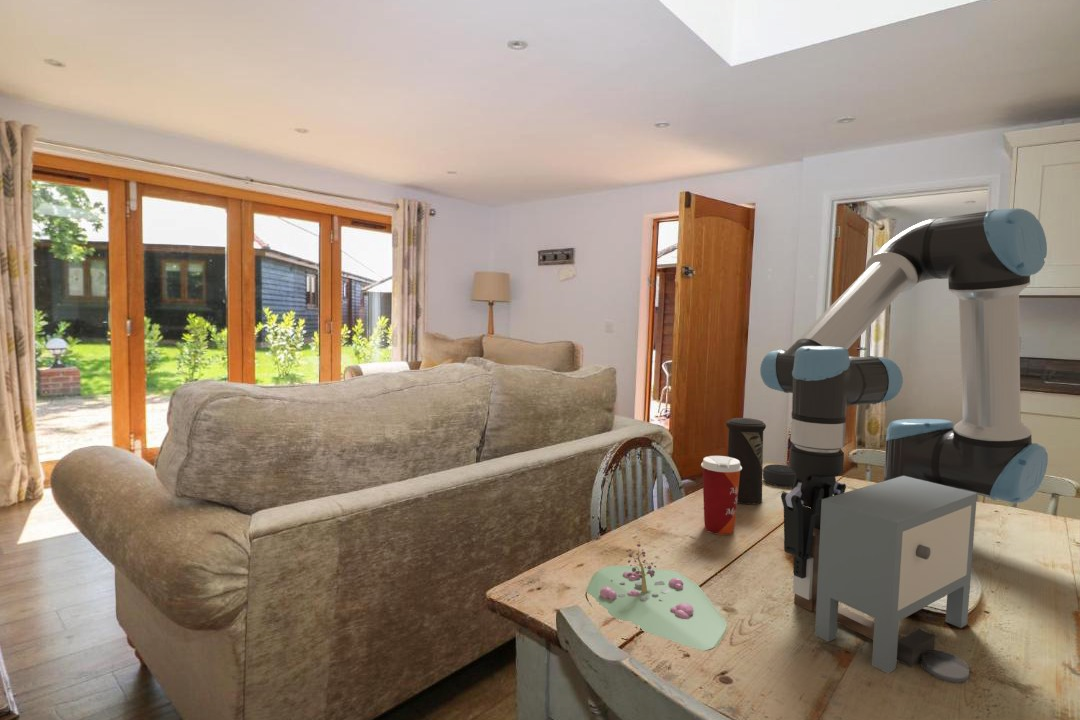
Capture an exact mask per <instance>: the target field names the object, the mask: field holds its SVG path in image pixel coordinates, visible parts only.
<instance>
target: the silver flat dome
mask: <svg viewBox="0 0 1080 720" xmlns="http://www.w3.org/2000/svg"><path fill="white" fill-rule="evenodd" d="M920 665H921V668H922V669H923V670H924V671H925V672H926V673H927V674H929V675H930V676H932V677H934V678H936V679H938V680H941V681H943V682H947V683H951V684H965V683H967V682H968V681H969V679H970V666H969V665H968V663H967V662H965V661H964V660H963V659H961V658H960V657H958V656H956V655H954V654H952V653H949V652H946V651H943V650H937V649H934V650H927V651H924V652H923V653H922V660H921V662H920Z"/></svg>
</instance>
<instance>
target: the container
mask: <svg viewBox="0 0 1080 720" xmlns="http://www.w3.org/2000/svg"><path fill="white" fill-rule="evenodd" d="M725 425H726V427H727V428H728V446H727V457H731V458H735V459H737V460H739V461H740V466H741V467H742V470H740V478H739V489H738V499H737V504H744V505H757V504H760V503H762V502H763V469H764V466H763V462H764V461H763V459H764V452H763V451H764V431H765V429H766V427H767V425H766V423H765V422H764V421H763V420H760V419H756V418H748V417H734V418H730V419H729V420H727V421H726V424H725Z"/></svg>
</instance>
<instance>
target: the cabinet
mask: <svg viewBox="0 0 1080 720" xmlns="http://www.w3.org/2000/svg"><path fill="white" fill-rule="evenodd" d="M977 498H978V495H977V493H974V492H970V491H966V490H962V489H957V488H953V487H949V486H945V485H941V484H936V483H932V482H928V481H924V480H920V479H915V478H911V477H907V476H900V477H897V478H894V479H890V480H887V481H884V480H883V481H880V482H877V483H873V484H869V485H865V486H863V487H859V488H856V489H853V490H850V491H845V492H844V493H842V494H838V495H835V496H834V495H833V496H832V497H828V498H825V499H822V502H821V523H820V543H819V563H818V583H817V603H816V611H815V624H814V625H815V627H814V636H815V637H817V638H820V639H822V640H823V641H825V642H827V643H829V642H831V641H833V640H835V639H837V634H838V622H837V620H838V606H839V603H841V604H843V605H845V606H848V607H850V608H852V609H853V610H855V611H858V612H861V613H863V614H865V615H867V616H869V617H871V618H873V619H874V621H873V622H874V638H873V639H872V641H873V642H872V657H871V658H872V659H871V666H872V667H874V668H877V669H878V670H880V671H882V672H884V673H886V674H889V673H891V672H893V671H895V670H896V669H897V661H898V660H897V645H898V634H899V630H900V629H899V625H900V621H903V620H904V619H906V618H908V617H909V616H911V615H913V614H915V613H917V612H919V611H920V610H922V609H923V608H926V607H927V606H930V605H931V604H933V603H935V602H937V601H939V600H940V599H942V598H944V597H946V606H945V607H946V609H945V620H944V621H945V623H948V624H950V625H952V626H954V627H957V628H959V629H962V628H963V627H965V626H968V617H969V606H970V605H969V603H970V592H971V591H970V590H971V578H972V577H971V576H972V566H973V564H972V563H973V554H974V553H973V551H974V538H975V525H976V524H975V523H976V513H977V512H976V511H977Z"/></svg>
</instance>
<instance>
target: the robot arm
mask: <svg viewBox="0 0 1080 720" xmlns="http://www.w3.org/2000/svg"><path fill="white" fill-rule="evenodd" d="M1047 254H1048V242H1047V237H1046V234H1045V230H1044V228H1043V226H1042V223H1041V222H1040V221H1039V219H1038V218H1037V217H1036V216H1035V214H1033V213H1032V212H1031V211H1029V210H1027V209H1024V208H1018V207H1017V208H1016V207H1015V208H1003V209H1001V208H1000V209H995V208H994V209H991V210H987V211H979V212H972V213H971V212H970V213H966V214H965V213H964V214H959V215H950V216H945V217H943V216H941V217H935V218H934V217H932V218H929V219H927V220H923V221H921V222H918V223H917V224H914V225H912V226H910V227H908V228H906V229H905V230H903V231H901V232H900V233H899V234H897V235H896V236H895V235H894V237H892V238H891V239H890V240H888V241H887V242H886V243H884V245H882V246H881V247H880V248H879V249H877V251H876V252H875V253H874V254H872V255H871V257H869V259H868V261H867V262H866V265H865V270H864V271H863V272H862V273H861V274H860V275H859V276H858V278H857V279H855V281H853V282H852V284H850V285H849V286H848V288H847V289H846V290H844V291H843V293H842V294H841V295H840V296H839V297H838V298H837V299H836V300H835V301H834V302H833V303H832V304H831V305H830V306H829V307H828V308H827V309H826V310H825V311H824V312H823V313H822V314H821V315H820V316H819V317H818V319H816V320H815V322H813V323H812V325H810V326H809V328H808V329H806V331H805V332H804V333H803V334H802V335H801V336H800V337H799V338H798V339H797V340H796V341H795V342H794V343H793V344H792V345H791V346H790V347H789V348H788V349H787V350H786V349H778V350H772V351H769V352H768V353H767V354H766V355H765V356H764V357H763V359H762V361H761V364H760V373H759V374H760V377H761V380H762V382H763V384H764V385H765V386H767V388H769V389H772V390H775V391H778V392H783V393H784V394H785V393H786V394H792V398H791V399H792V400H791V401H792V403H791V422H790V425H791V426H790V442H791V443H792V445H791V446H790V447H789V457H788V458H789V459H788V460H789V461H788V466H789V467H790V468H791V469H792V470H793V471H794V472H795V474H796V477H795V481H794V483H793V486H792V488H793V489H791V491H790V492H786V491H783V492H782V493H781V494H780V495H781V496H780V499H781V502H782V503H781V504H782V506H783V542H784V543H783V544H784V545H783V548H784V549H783V550H784V552H785V553H787V554H789V555H792V556H793V569H792V570H793V572H792V573H793V585H792V586H793V587H792V593H793V594H794V595H795V594H797V595H799V596H801V597H804V598H806V599H808V600H810V599H812V581H813V561H814V558H812V557H810V553H811V546H812V539H813V532H814V528H816V529H819V530H820V523H821V502H822V499H825V498H828V497H832V496H835V495H838V494H842V493H845V492H846V489H847V484H846V483H843V482H840V481H837V479H836V477H839V476H841V475H842V474H843V473H844V459H845V458H844V457H845V452H844V451H843V450H842V448H844V447H845V445H846V419H847V418H846V416H847V407H850V406H859V405H860V406H861V405H862V406H864V405H877V404H880V403H884V402H888V401H891V400H893V399H894V398H896V397H897V396H898V394H899V393H900V392H901V390H902V387H903V382H904V379H903V374H902V371H901V369H900V367H899V366H898V364H896V362H894V360H892V359H889V358H888V357H883V356H875V355H874V356H873V355H868V356H851V355H850V353H849V352H850V351H849V350H848V349H850V348H851V347H852V345H853V344H854V343H856V342H857V340H858V339H859V338H860V337H861V335H863V334H864V332H865V331H866V330H868V328H869V327H870V326H871V325H872V324H873V323H874V322H875V321H876V320H877V319H878V318H879V316H881V314H882V313H883V312H884V311H885V310H886V309H887V308H888V307H889V306H890V304H892V303H893V301H894V300H895V299H897V298H898V296H900V294H903V293H907V292H909V291H911V290H912V289H914V287H915V286H916V285H917V284H919V283H921V282H924V281H928V280H935V279H937V280H938V279H939V280H940V279H941V280H944V279H948V281H947V282H948V291H949V292H950V293H952V294H954V295H955V296H956V297H957V298H958V310H959V313H958V314H959V341H960V344H959V345H960V371H961V372H960V373H961V374H960V375H961V380H960V381H961V406H962V407H961V409H962V410H961V411H962V414H961V415H962V419H961V420H960V421H958V422H957V423H956V424H955V425H954V422H953V421H952V420H948V419H940V418H908V419H906V418H905V419H897V420H893V421H891V422H890V423H889V424H888V426H887V431H886V438H885V440H884V441H885V455H884V473H883V475H884V476H883V481H887V480H890V479H894V478H897V477H900V476H907V477H911V478H915V479H920V480H924V481H928V482H932V483H936V484H941V485H945V486H949V487H953V488H957V489H962V490H966V491H970V492H974V493H977V496H982V497H985V498H989V499H991V500H992V501H998V500H999V501H1002V502H1007V503H1010V504H1021V503H1024V502H1027V501H1028V500H1029V499H1031V498H1032V497H1033V496H1034V495H1035V494H1036V492H1037V491H1038V490H1039V488H1040V486H1041V485H1042V482H1043V481H1044V478H1045V475H1046V473H1047V468H1048V463H1049V456H1048V452H1047V450H1046V448H1045V446H1043V445H1040V444H1039V443H1035V442H1034V443H1033V440H1032V429H1031V428H1030V427H1029V426H1027V425H1025V424H1024V423H1023V422H1022V421H1021V367H1020V366H1021V365H1020V364H1021V362H1020V359H1021V355H1020V352H1021V351H1020V349H1021V348H1020V347H1021V346H1020V344H1021V343H1020V294H1021V292H1022V291H1024V290H1025V289H1026V288H1027V287H1028V286H1029V285H1030V284H1031V276H1033V275H1036V274H1037V273H1039V272H1040V271H1041V270H1042V269H1043V267H1044V265H1045V262H1046V261H1045V258H1046V257H1047Z"/></svg>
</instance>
